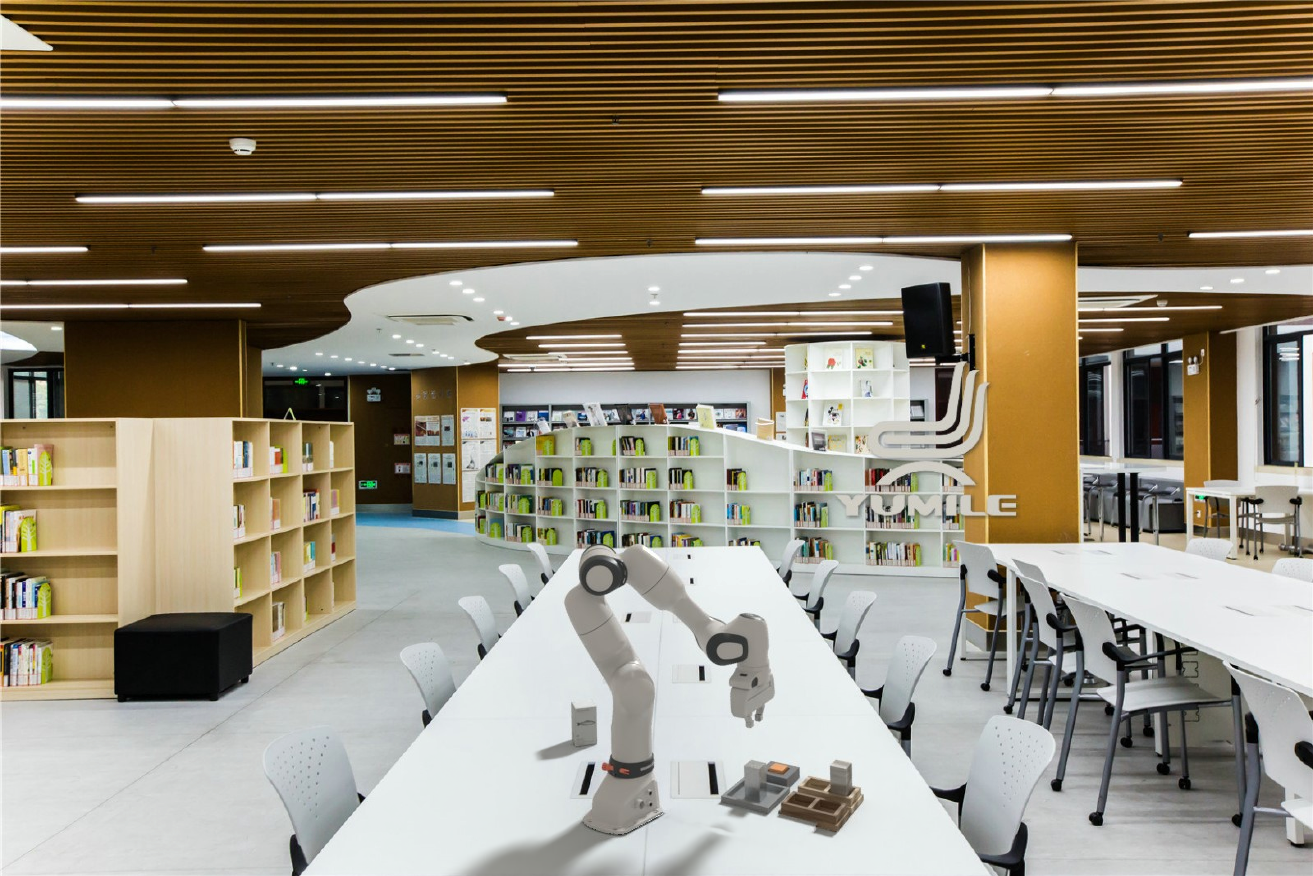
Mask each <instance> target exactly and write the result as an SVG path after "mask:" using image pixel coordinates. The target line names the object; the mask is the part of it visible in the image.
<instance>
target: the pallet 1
mask: <svg viewBox="0 0 1313 876" xmlns="http://www.w3.org/2000/svg"><path fill="white" fill-rule="evenodd" d="M829 779H830V780H829ZM829 779H826V778H825V779H824V778H821V777H817V776H811V775H808V776H806V778H805V779H804V780H803V781H802V782H801V783H800V784H798V785H797V792H800V793H804V794H808V795H812V796H817V797H821V798H825V799H829V800H833V801H837V802H841V803H846V804H847V810H849V811H850V815H853V813H854V812H855V811H856V810H857V809H858V808H859V806H860V805H861V804H862V803H863V801H864V800H865V799H864V793H862V789H861V788H862V787H860V786H855V785H853V763H852V762H849V761H844V760H841V759H840V760H839V759H834V761H833V762H832V763H830V764H829Z"/></svg>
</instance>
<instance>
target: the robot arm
mask: <svg viewBox="0 0 1313 876" xmlns="http://www.w3.org/2000/svg"><path fill="white" fill-rule="evenodd" d="M579 559H580V560H579V562H578V579H579V583H578V584H577V585H575V586H574V587H572V588H571V589H570V590H569V591H568V592H567V593H566V595H565V597H564V601H563V604H564V607H565V610H566V613H567V615H568V616H567V617H568V619H569V621H570V623H571V625H572V627H573V629H574V631H575V633H576V635H577V637H578V638H579V640H580V641H581V643H582V645H583V646H584V648H585V649H586V650H585V651H586V652H587V653H588V655H589V657H590V659H591V660H592V662H593V663H594V665H595V666H596V668H597V669H598V672H600V675H601V676H602V677H603V680H604V681H605V683H606V685H607V686H608V688H609V690H610V693H611V695H612V719H611V724H610V744H611V745H610V749H611V750H610V751H611V754H610V756H609V759H608V762H605V761H604V762H603V763H602V764H601V770H602V771H606V772H607V773H606V775H605V776H604V778H603V780H602V782H600V785H599V787H598V788H597V790H596V791H595V793H594V795H593V796H592V802H591V809H590V810H589V811H588V812H587V813H585V815H584V816H583V817H582V823H583V822H584V823H583V824H584V825H585V824H586V825H587V826H586V825H585V826H586V827H588V826H589V827H588V828H590V829H592V828H593V829H592V830H595V829H596V830H595V831H598V832H601V833H605V834H609V833H611V834H610V835H618V834H622V835H625V834H624V833H627V832H629V831H631V830H632V829H635V828H636V827H638V826H640V825H641V824H644V823H646V822H648V821H649V820H651V819H654V818H655V817H656V816H658V815H661V814H662V813H663V814H664V809H663V808H662V807H661V804H660V794H659V787H658V786H659V785H658V781H657V779H656V776H655V772H654V769H655V755H654V753H653V736H652V735H653V733H652V731H653V730H652V725H653V715H654V707H655V706H654V705H655V700H656V699H655V697H656V688H655V684H654V681H653V679H652V677H651V675H650V674H649V673H648V671H647V670H646V668H645V666H644V664H643V663H642V661H641V659H640V657H639V656H638V654H637V652H636V651H635V649H634V647H633V645H632V643H631V641H630V640H629V638H628V636H627V634H626V632H625V631H624V629H623V628H622V626H621V624H620V622H619V621H618V619H617V617H616V615H615V613H614V611H613V610H612V608H611V607H610V605H609V603H608V602H607V599H606V595H608V594H610V593H612V592H614V591H615V590H617V589H619V588H622V587H623V586H625V585H626V584H628V585H629V586H630V587H632V588H633V590H635V591H636V593H638V594H639V595H640V596H641V597H642V598H643V599H644V600H645V601H646V602H647V603H648V604H650V605H652V606H653V607H655V608H656V609H658V610H659V611H668V612H670V613H672V614H673V615H675V616H676V617H677V619H679V620H680V621H681V622H682V623H683V624H684V625H685V626H686V627H687V628H688V629H690V631H691V632H692V633H693V635H694V638H695V641H696V644H697V646H698V648H699V649H700V650H701V651H702V652H703V653H704V654H705V656H706V657H707V658H708V660H709V661H710V662H711V663H712V664H714V665H716V666H723V667H724V666H729V665H735V664H736V668H735V669H734V671H733V674H732V675H731V676H730V677H729V679H728V685H729V687H731V688H730V693H729V694H730V696H729V698H730V699H729V701H730V703H729V704H730V713H731V715H732V716H733V717H734V718H738V719H739V718H740V719H744V721H745V727H746V728H747V729H752V728H753V727H755V722H758V723H760V722H761V721H763V719H764V710H765V707H766V705H765V704H766V703H768V702H769V701H771V700H772V699H774V698H775V692H776V691H775V680H774V678H775V677H774V675H773V673H772V671H771V668H770V659H769V648H770V639H769V628H768V623H767V620H765V619H764V618H763V617H761V616H760V615H758V614H755V613H750V612H743V613H739V614H738V615H737V616H736V618H734V619H732V620H731V621H730V622H727V623H726V622H724V621H723V620H721V619H719V618H717V617H716V618H715V617H713V616H710V615H709V614H707V613H706V612H705V611H704V610H703V609H702V608H701V607H700V606H699V605H698V604H697V603H696V602H695V601H693V600H692V598H691V597H690V596H689V594H688V593H687V590H686V586H685V584H684V582H683V581H682V579H681V577H680V576H679V575H678V573H677V572H676V571H675V570H674V569H673V568H672V567H671V565H670V564H668V562H666V560H664V558H662V557H661V556H659V555H658V554H657V553H655V552H654V551H653V550H652V549H650V548H649V547H647V546H646V545H644V544H641V543H635V544H633V545H629V547H627V548H626V549H624V551H622V552H620V553H617V552H616V551H615V549H613V548H612V546H610V545H608V544H605V543H594V544H591V545H589V546H588V547H587V548H586V549H585V550H584V551H583V552H582V553H581V556H580V558H579ZM754 712H755V714H754V720H753V713H754ZM754 721H755V722H754ZM661 816H662V815H661ZM654 820H655V819H654ZM648 823H649V822H648ZM646 824H647V823H646ZM644 825H645V824H644ZM640 827H641V826H640ZM638 828H639V827H638ZM635 830H636V829H635ZM631 832H632V831H631ZM613 833H614V834H613ZM629 833H630V832H629ZM627 834H628V833H627Z"/></svg>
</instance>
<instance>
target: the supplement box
mask: <svg viewBox="0 0 1313 876" xmlns="http://www.w3.org/2000/svg"><path fill="white" fill-rule="evenodd" d="M570 707H571V709H570V710H571V711H570V712H571V713H570V716H571V740H572V742H573V744H574V746H575V747H576V746H577V747H581V746H590V745H598V723H597V722H598V721H597V720H598V718H597V715H598V712H597V710H598V709H597V708H598V707H597V704H596V703H595V702H594V699H588V700H587V699H586V700H578V701H577V700H576V701H571V703H570Z"/></svg>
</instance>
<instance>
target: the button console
mask: <svg viewBox="0 0 1313 876" xmlns="http://www.w3.org/2000/svg"><path fill="white" fill-rule="evenodd" d="M775 763H777V764H781V765H786V766H788V771H787V772H786V773H785V774H783V775H782V774H778V773H774V772H769V768H770V767H771V766H772V765H774V764H775ZM800 769H801V768H800V766H796V765H791V764H786V763H783V762H777V761H772V760H770V761H769V762H768V763H766V777H767V782H769V783H773V784H777V785H781V786H785V787H790V788H791V787H792V785H794V784H795V783H796V782H797V781H798V780H799V779H800V778H801V775H800V771H801V770H800Z"/></svg>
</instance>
